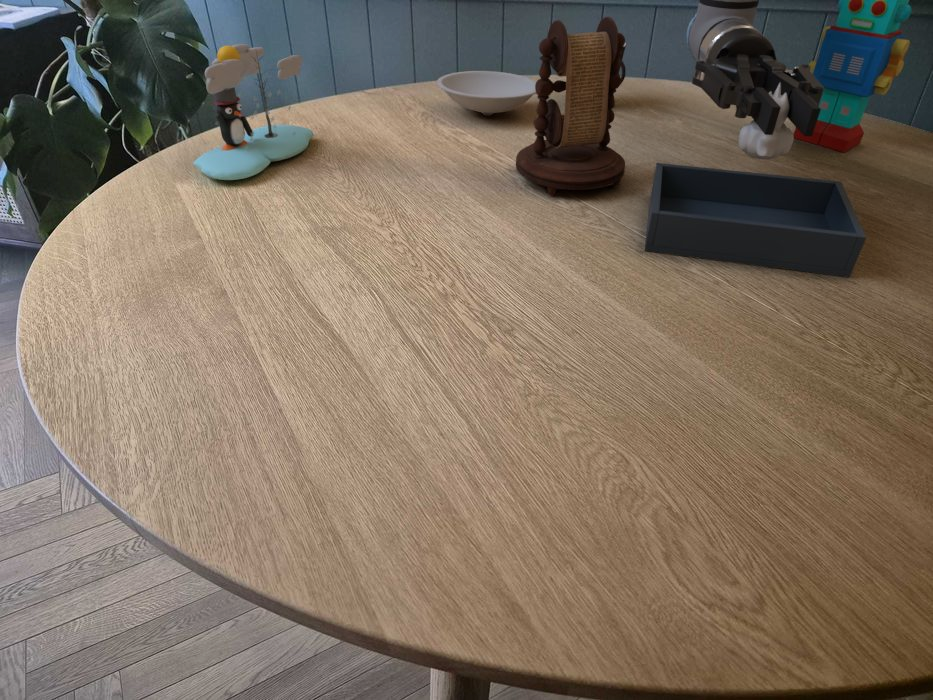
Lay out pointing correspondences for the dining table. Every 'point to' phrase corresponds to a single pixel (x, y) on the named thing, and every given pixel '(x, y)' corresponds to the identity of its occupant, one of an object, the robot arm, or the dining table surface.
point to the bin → (753, 219)
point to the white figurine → (768, 145)
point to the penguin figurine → (254, 146)
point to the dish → (487, 90)
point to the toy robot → (856, 67)
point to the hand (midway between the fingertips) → (792, 121)
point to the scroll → (576, 111)
